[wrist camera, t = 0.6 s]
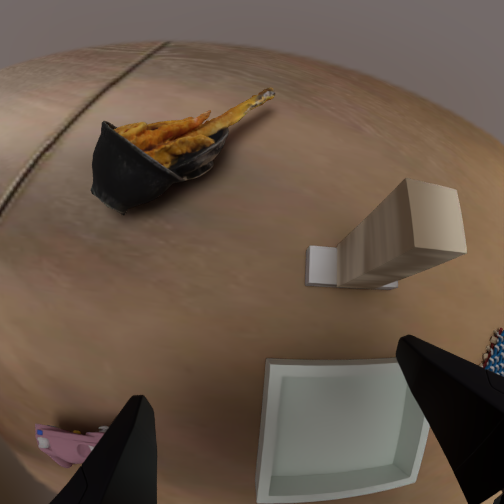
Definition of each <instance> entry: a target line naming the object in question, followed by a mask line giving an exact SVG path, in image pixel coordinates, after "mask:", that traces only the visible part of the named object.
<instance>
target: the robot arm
mask: <svg viewBox="0 0 504 504" xmlns="http://www.w3.org/2000/svg"><path fill="white" fill-rule="evenodd" d="M396 359H397V362H398V364H399V366H400V368H401V371H402V373H403V375H404V377H405V380H406V382H407V384H408V387H409V389H410V391H411V393H412V395H413V396H414V398H415V400H416V402H417V403H418V405H419V407H420V409H421V411H422V412H423V414H424V416H425V418H426V420H427V421H428V423H429V425H430V427H431V429H432V431H433V433H434V434H435V436H436V438H437V440H438V442H439V444H440V446H441V448H442V450H443V452H444V454H445V456H446V458H447V460H448V462H449V464H450V466H451V468H452V470H453V471H454V474H455V476H456V478H457V480H458V483H459V485H460V487H461V489H462V491H463V493H464V496H465V498H466V500H467V502H468V504H480V503H482V502H484V501H485V500H487V499H488V498H490V497H491V496H493V495H495V494H496V493H497V492H499V491H500V490H501V491H502V492H503V493H502V494H501V495H500V496H498V497H497V498H496V499H495V500H494V503H493V504H504V376H501V375H499V374H496V373H494V372H492V371H490V370H487V369H486V370H485V368H483V367H481V366H478V365H476V364H474V363H472V362H469V361H467V360H465V359H463V358H461V357H458V356H456V355H454V354H452V353H450V352H447V351H445V350H443V349H441V348H439V347H436V346H434V345H432V344H430V343H428V342H425V341H423V340H421V339H419V338H417V337H415V336H412V335H406V336H403V337H401V338H400V339H399V342H398V346H397V350H396ZM50 504H157V443H156V431H155V417H154V411H153V408H152V407H151V405H150V403H149V402H148V400H147V399H146V397H145V396H144V395H133V396H132V397H131V398H130V399H129V400H128V402H127V403H126V405H125V406H124V407H123V409H122V410H121V411H120V413H119V414H118V415H117V417H116V418H115V419H114V421H113V422H112V424H111V425H110V426H109V428H108V429H107V430H106V432H105V433H104V435H103V436H102V437H101V439H100V440H99V441H98V443H97V444H96V445H95V447H94V448H93V450H92V451H91V452H90V454H89V455H88V457H87V458H86V459H85V461H84V462H83V463H82V466H80V467H79V469H78V470H77V472H76V473H75V474H74V476H73V477H72V478H71V480H70V481H69V482H68V483H67V484H66V486H65V487H64V488H63V489H62V490H61V491H60V492H59V494H58V495H57V496H56V497H55V498H54V499H53V500H52V501H51V502H50Z"/></svg>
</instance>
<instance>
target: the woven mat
mask: <svg viewBox="0 0 504 504" xmlns="http://www.w3.org/2000/svg"><path fill="white" fill-rule="evenodd" d="M502 330H503V329H502V328H500V330H499V332H498V331H497V330H496V329H495V328H494V331H493V332H494V334H495V335H496V336H495V337H494V336H492V338H491V341H490V342H491V348H490V347H489V346H488V345H487V347H486V350H487V351H488V353H489V354H488V353H487V354H484V355H483V360H484V361H485V362H484V364H482V363H480V365H479V366H481V367H483V368H485V370H486V369H487V370H490V371H492V372H494V373H496V374H499V375H501V376H504V338H503V337H504V330H503V331H502ZM493 350H494V351H493ZM502 359H503V360H502Z"/></svg>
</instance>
